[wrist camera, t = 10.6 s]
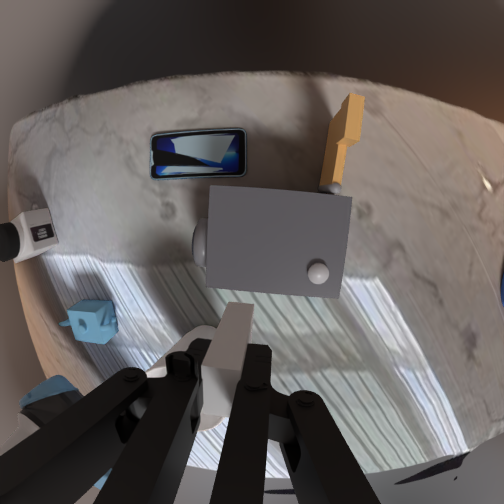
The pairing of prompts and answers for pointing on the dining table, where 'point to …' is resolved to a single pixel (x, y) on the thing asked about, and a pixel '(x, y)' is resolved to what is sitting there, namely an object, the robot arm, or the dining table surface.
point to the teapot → (92, 321)
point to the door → (341, 142)
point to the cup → (182, 345)
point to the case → (273, 241)
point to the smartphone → (198, 154)
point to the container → (27, 235)
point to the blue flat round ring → (502, 290)
